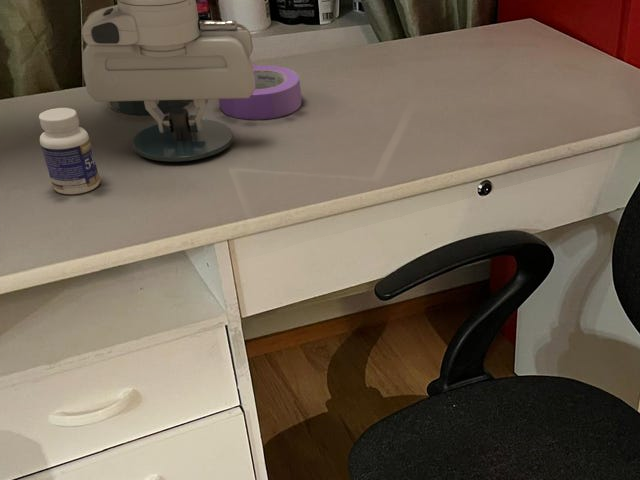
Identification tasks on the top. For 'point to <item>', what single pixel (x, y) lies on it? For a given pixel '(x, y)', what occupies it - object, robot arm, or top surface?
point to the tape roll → (267, 95)
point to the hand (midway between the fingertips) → (182, 131)
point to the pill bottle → (67, 152)
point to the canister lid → (182, 139)
